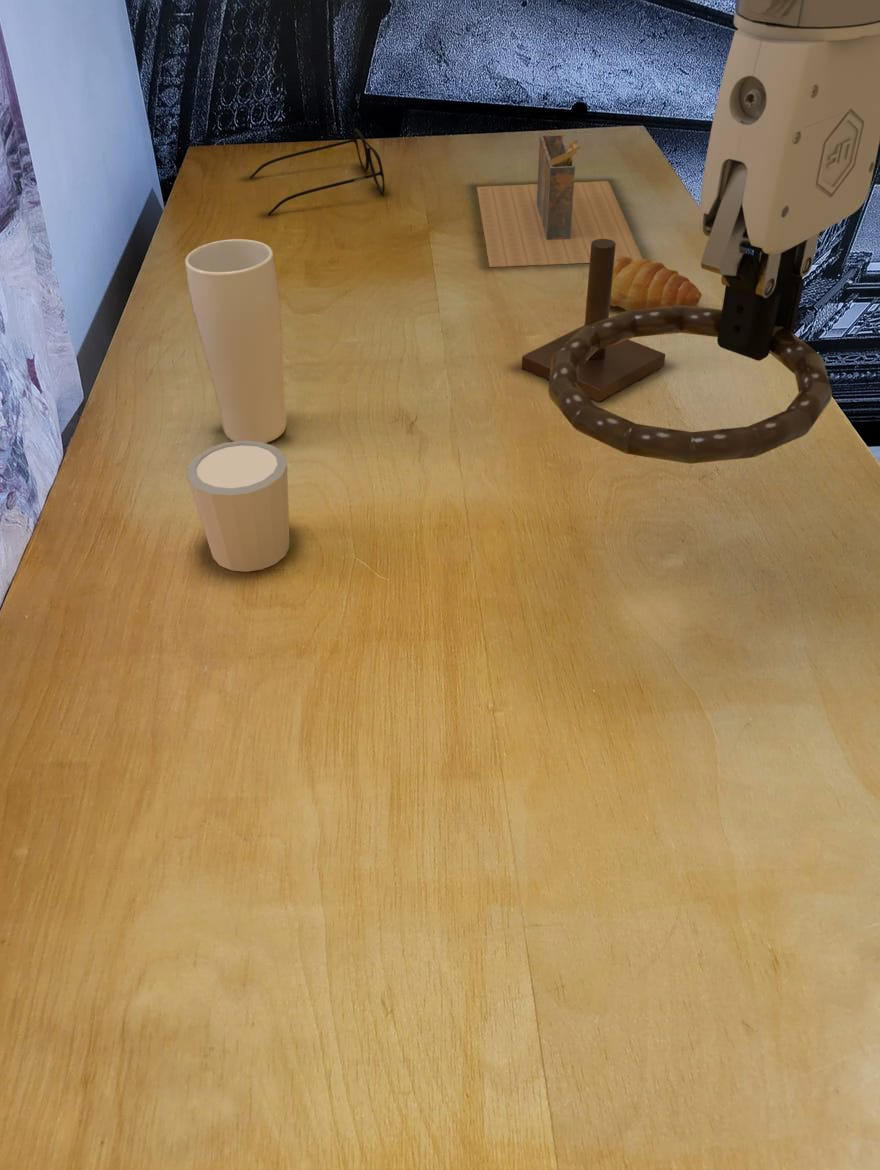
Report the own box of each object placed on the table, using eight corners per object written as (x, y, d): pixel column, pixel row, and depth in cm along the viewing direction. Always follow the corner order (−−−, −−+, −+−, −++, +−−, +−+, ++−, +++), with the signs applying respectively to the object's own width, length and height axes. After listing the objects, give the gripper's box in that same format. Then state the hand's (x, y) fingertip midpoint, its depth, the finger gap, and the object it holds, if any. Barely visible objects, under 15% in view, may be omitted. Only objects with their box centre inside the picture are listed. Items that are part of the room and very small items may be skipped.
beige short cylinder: (184, 549, 76) (165, 467, 71) (258, 509, 79) (245, 428, 74) (242, 590, 72) (227, 506, 67) (317, 545, 75) (307, 462, 71)
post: (586, 335, 98) (596, 214, 91) (664, 366, 93) (681, 241, 86) (521, 368, 94) (526, 244, 87) (599, 402, 89) (611, 274, 81)
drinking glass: (203, 449, 86) (168, 271, 76) (232, 408, 91) (203, 236, 81) (281, 456, 84) (256, 276, 74) (306, 414, 89) (286, 240, 79)
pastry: (710, 302, 103) (716, 264, 100) (680, 328, 99) (686, 290, 96) (623, 282, 107) (627, 245, 104) (592, 307, 103) (595, 269, 100)
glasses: (388, 198, 128) (381, 157, 124) (271, 229, 127) (261, 188, 123) (361, 163, 138) (354, 124, 135) (252, 191, 137) (243, 152, 134)
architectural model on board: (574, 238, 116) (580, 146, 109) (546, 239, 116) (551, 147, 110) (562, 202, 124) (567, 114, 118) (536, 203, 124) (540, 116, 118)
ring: (656, 302, 67) (658, 278, 66) (882, 384, 58) (889, 358, 57) (492, 396, 60) (491, 372, 59) (720, 505, 51) (725, 479, 50)
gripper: (797, 33, 44) (729, 417, 56) (975, -34, 51) (880, 318, 64) (653, 11, 48) (619, 373, 61) (836, -48, 56) (773, 285, 68)
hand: (754, 343), depth 62 cm, fingers closed on ring, 1 cm apart
